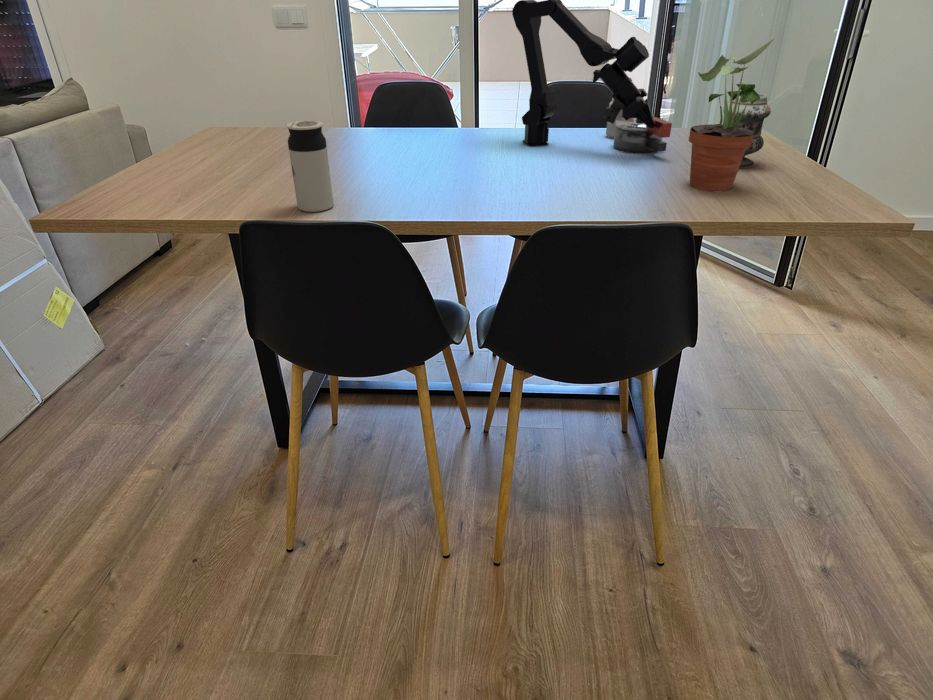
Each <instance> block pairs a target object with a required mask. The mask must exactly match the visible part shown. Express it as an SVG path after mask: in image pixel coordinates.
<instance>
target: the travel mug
mask: <svg viewBox="0 0 933 700" xmlns="http://www.w3.org/2000/svg"><path fill="white" fill-rule="evenodd" d="M323 126H324V124H323V122H321V121H319V120H308V119H307V120H306V119H304V120H296V121H292V122H291V121H290V122H288V123H287V124H286V128H287V129H288V130H287V131H288V133H289V136H288V139H287V147H288V153H289V158H290V160H289V161H290V166H291V172H292V179H293V185H294V192H295V199H296V205H297V208H298V210H300V211H304V212H307V213H319V212H324V211H327V210H329V209H331V208H333V207H334V197H333V196H334V195H333V189H332V179H331V172H330V163H329V155H328V148H327V147H328V146H327V139H326V137H325V135H324V134H323V131H322V129H323Z"/></svg>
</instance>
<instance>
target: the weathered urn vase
mask: <svg viewBox="0 0 933 700" xmlns="http://www.w3.org/2000/svg"><path fill="white" fill-rule="evenodd" d="M757 93H758V95H759V97H760V99H759V100H757V101H754V102H753V104H751V102H750V99H749V101H747V102H748V104H747V102H745V103H743V102H740V106H739V112H738V118H739V117H740V116H741V114H742V112H743V110H744V108H745V106H746V104H747V106H746V108H745V110H744V113H743V115H742V117H741V120H740V121H739V122H738V123H737V125H736V126H737V127H742V128H746V129H749V130H752V131H753V132H754V135H753V139H752V142H751V146H750V147H747V148H746V151H745V153H744V156H743V159H742V161H741V164H740V167H739V169H744V168H746V169H747V168H751V167H754V165H755V161H753V160H752V159H750V158H748V157H746V156H748V155H751V154H755V153H757V152H758V151H761V149H762V148H763V147H764V143H765V142H764V138H763V136H761V135H762V130H763V124H764V122H765V121H764V120H765V119H767V118H768V117H769V116H770V114H771V113H772V107H771V106H770V104H769V103H768V95H767V94H765V93H759V92H757ZM736 98H737V97H736ZM740 98H741V96H739V99H738V104H737V109H736V114H735V118H734V123H735V119H736V115H737V110H738V105H739V101H740ZM735 102H736V99H735V100H732V113H733V110H734V106H735ZM727 104H728V111H729V106H730V101H729V102H728V101H727ZM722 113H724V107H722ZM738 118H737V120H738ZM730 121H731V120H730Z"/></svg>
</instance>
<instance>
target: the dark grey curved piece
mask: <svg viewBox="0 0 933 700" xmlns="http://www.w3.org/2000/svg"><path fill="white" fill-rule="evenodd" d="M667 144H668V143H667V142H665V141H663V138H661V137H659V136H656V135H654V134H652V133H649V132H639V131H629V130H623V129H620V128H617V127H616V129H615V137H614V139H613V149H614V150H616V151H619V152H621V151H622V152H621V153H628V154H635V153H637V154H638V155H639V154H641V155H645V154H647V155H648V154H656V153H658V151H659V152H665V151H666V149H667ZM637 154H636V155H637Z"/></svg>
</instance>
